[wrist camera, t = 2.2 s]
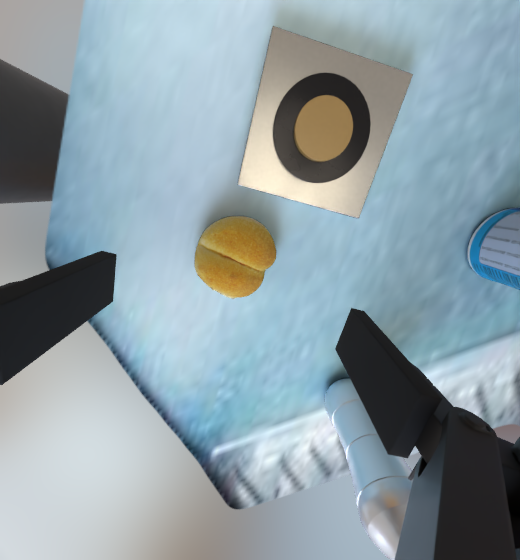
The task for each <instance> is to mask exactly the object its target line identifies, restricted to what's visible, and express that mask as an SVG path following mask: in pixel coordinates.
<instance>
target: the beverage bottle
mask: <svg viewBox="0 0 520 560" xmlns="http://www.w3.org/2000/svg"><path fill="white" fill-rule="evenodd" d="M468 261H469V264H470V266H471V268H472V269H473V270H474V271H475V272H476V273H477V274H478V275H480V276H481V277H484V278H486V279H489V280H492V281H495V282H499V283H502V284H505V285H508V286H511V287H513V288H516V289H518V290H520V208H510V209H506V210H502V211H500V212H497V213H495V214H493V215H492V216H490V217H489V218H487V219H486V220H485V221H484V222H483V223H482V224H481V225H480V226H479V227H478V228H477V229H476V231H475V232H474V234H473V235H472V237H471V240H470V242H469V246H468Z"/></svg>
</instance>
